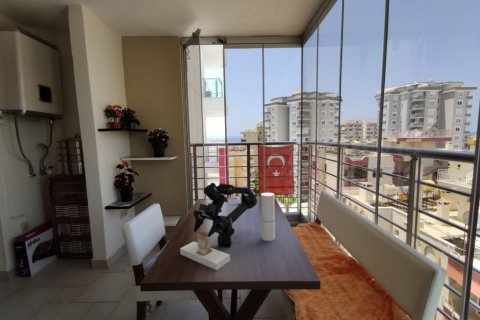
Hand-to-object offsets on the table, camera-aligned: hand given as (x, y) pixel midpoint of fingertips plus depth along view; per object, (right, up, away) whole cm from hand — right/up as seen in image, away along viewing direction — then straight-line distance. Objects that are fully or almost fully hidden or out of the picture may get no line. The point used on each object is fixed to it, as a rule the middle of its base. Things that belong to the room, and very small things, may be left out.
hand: (201, 234), depth 108 cm
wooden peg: (+1, -12, +2) cm, 12 cm away
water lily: (+22, -2, +83) cm, 86 cm away
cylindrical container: (+34, -9, +21) cm, 41 cm away
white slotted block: (+1, -12, +2) cm, 12 cm away
